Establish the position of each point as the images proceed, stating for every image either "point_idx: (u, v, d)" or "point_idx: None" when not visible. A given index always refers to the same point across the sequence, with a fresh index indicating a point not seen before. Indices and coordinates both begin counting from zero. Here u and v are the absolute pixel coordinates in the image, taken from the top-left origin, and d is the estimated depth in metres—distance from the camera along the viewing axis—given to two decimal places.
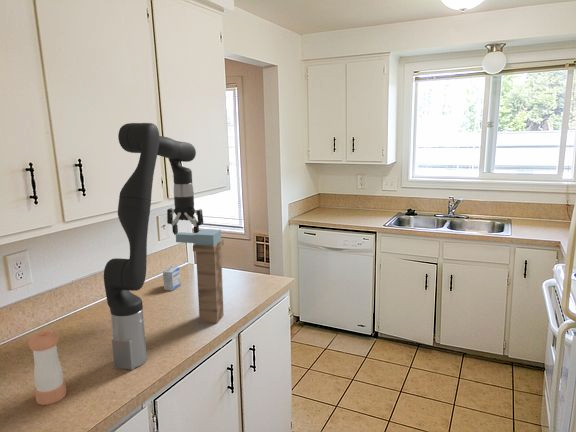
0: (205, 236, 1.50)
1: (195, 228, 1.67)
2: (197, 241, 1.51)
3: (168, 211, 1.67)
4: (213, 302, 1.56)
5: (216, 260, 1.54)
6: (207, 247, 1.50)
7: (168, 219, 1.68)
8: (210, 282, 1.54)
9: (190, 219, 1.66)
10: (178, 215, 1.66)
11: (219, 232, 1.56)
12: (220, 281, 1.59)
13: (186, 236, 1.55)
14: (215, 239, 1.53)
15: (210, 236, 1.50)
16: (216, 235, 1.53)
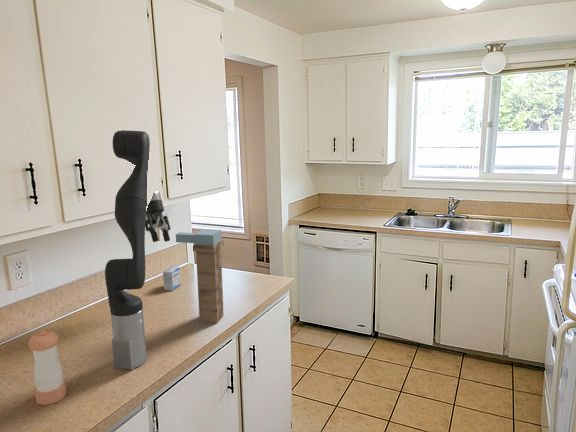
0: (205, 236, 1.50)
1: (168, 233, 1.69)
2: (197, 241, 1.51)
3: (149, 216, 1.59)
4: (213, 302, 1.56)
5: (216, 260, 1.54)
6: (207, 247, 1.50)
7: (151, 224, 1.59)
8: (210, 282, 1.54)
9: (165, 223, 1.68)
10: (158, 219, 1.63)
11: (219, 232, 1.56)
12: (220, 281, 1.59)
13: (186, 236, 1.55)
14: (215, 239, 1.53)
15: (210, 236, 1.50)
16: (216, 235, 1.53)
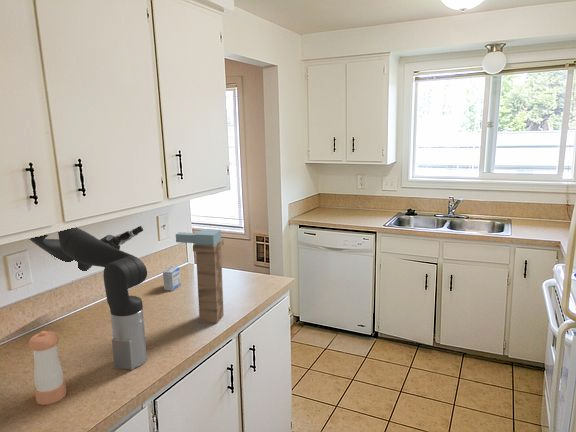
0: (205, 236, 1.50)
1: None
2: (197, 241, 1.51)
3: (105, 242, 1.58)
4: (213, 302, 1.56)
5: (216, 260, 1.54)
6: (207, 247, 1.50)
7: (111, 239, 1.56)
8: (210, 282, 1.54)
9: (125, 232, 1.66)
10: (114, 236, 1.61)
11: (219, 232, 1.56)
12: (220, 281, 1.59)
13: (186, 236, 1.55)
14: (215, 239, 1.53)
15: (210, 236, 1.50)
16: (216, 235, 1.53)
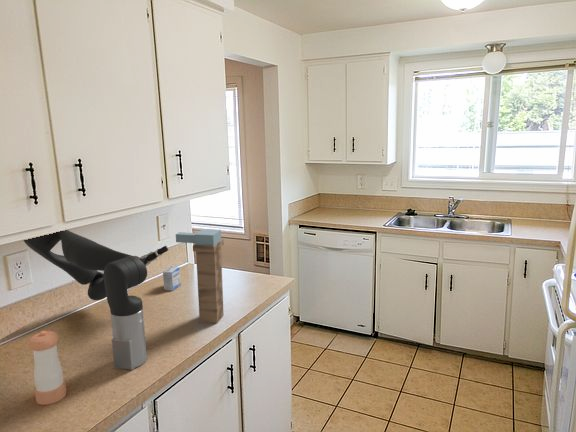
0: (205, 236, 1.50)
1: None
2: (197, 241, 1.51)
3: None
4: (213, 302, 1.56)
5: (216, 260, 1.54)
6: (207, 247, 1.50)
7: None
8: (210, 282, 1.54)
9: None
10: (140, 257, 1.60)
11: (219, 232, 1.56)
12: (220, 281, 1.59)
13: (186, 236, 1.55)
14: (215, 239, 1.53)
15: (210, 236, 1.50)
16: (216, 235, 1.53)
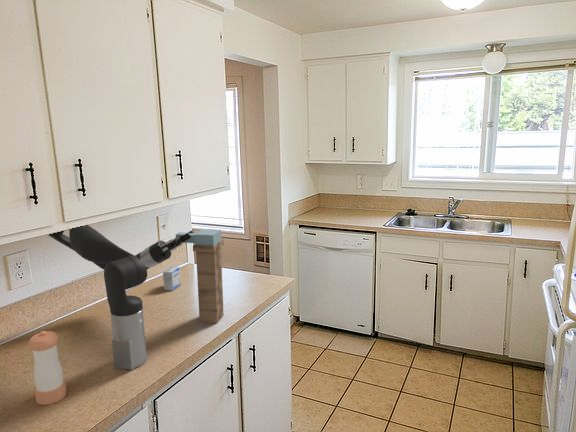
0: (205, 236, 1.50)
1: None
2: (197, 241, 1.51)
3: (163, 246, 1.52)
4: (213, 302, 1.56)
5: (216, 260, 1.54)
6: (207, 247, 1.50)
7: (171, 241, 1.53)
8: (210, 282, 1.54)
9: None
10: (168, 241, 1.56)
11: (219, 232, 1.56)
12: (220, 281, 1.59)
13: None
14: (215, 239, 1.53)
15: (210, 236, 1.50)
16: (216, 235, 1.53)
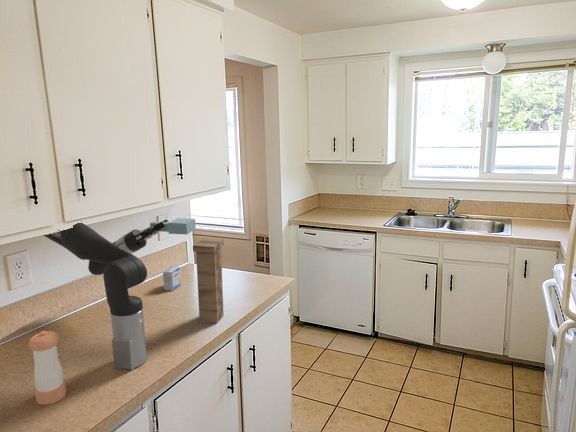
0: (178, 224, 1.51)
1: None
2: (170, 230, 1.52)
3: (137, 234, 1.53)
4: (213, 302, 1.56)
5: (216, 260, 1.54)
6: (207, 247, 1.50)
7: (145, 230, 1.54)
8: (210, 282, 1.54)
9: None
10: (142, 230, 1.57)
11: (193, 221, 1.57)
12: (220, 281, 1.59)
13: None
14: (189, 228, 1.54)
15: (183, 225, 1.51)
16: (190, 224, 1.54)
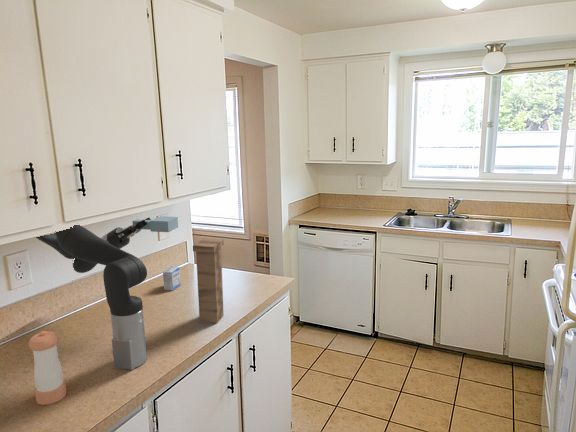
0: (160, 222, 1.53)
1: None
2: (152, 227, 1.54)
3: (119, 232, 1.54)
4: (213, 302, 1.56)
5: (216, 260, 1.54)
6: (207, 247, 1.50)
7: (127, 228, 1.55)
8: (210, 282, 1.54)
9: None
10: (125, 228, 1.59)
11: (175, 219, 1.58)
12: (220, 281, 1.59)
13: None
14: (171, 225, 1.55)
15: (165, 222, 1.52)
16: (172, 222, 1.55)
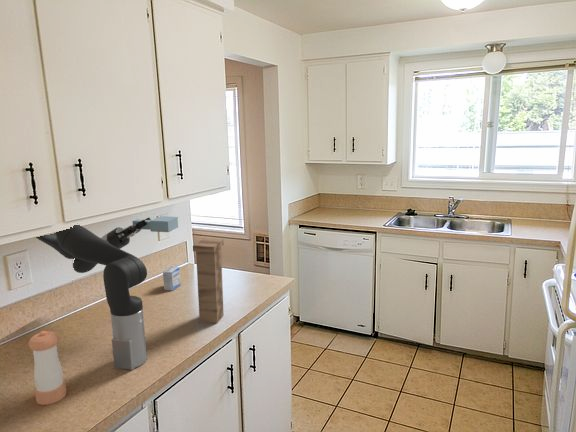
0: (160, 222, 1.53)
1: None
2: (152, 227, 1.54)
3: (119, 232, 1.54)
4: (213, 302, 1.56)
5: (216, 260, 1.54)
6: (207, 247, 1.50)
7: (127, 228, 1.55)
8: (210, 282, 1.54)
9: None
10: (125, 228, 1.59)
11: (175, 219, 1.58)
12: (220, 281, 1.59)
13: None
14: (171, 225, 1.55)
15: (165, 222, 1.52)
16: (172, 222, 1.55)
